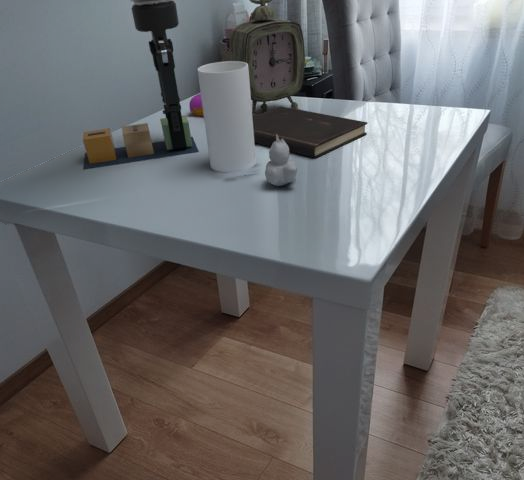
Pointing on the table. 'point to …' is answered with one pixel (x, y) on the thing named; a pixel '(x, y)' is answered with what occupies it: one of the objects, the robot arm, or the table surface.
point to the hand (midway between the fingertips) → (178, 142)
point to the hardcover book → (306, 130)
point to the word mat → (158, 150)
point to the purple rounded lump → (196, 105)
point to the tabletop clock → (269, 55)
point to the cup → (228, 115)
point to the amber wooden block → (99, 146)
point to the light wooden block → (137, 140)
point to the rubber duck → (280, 164)
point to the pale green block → (167, 133)
